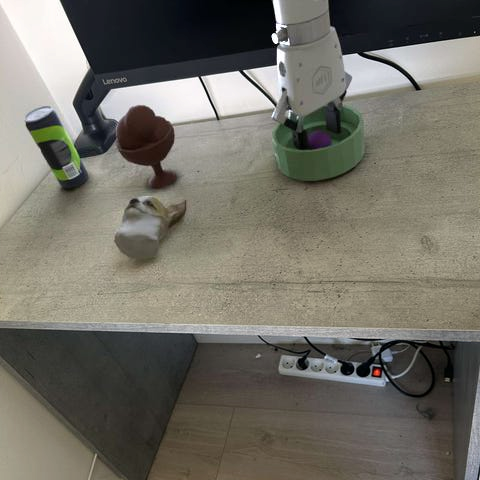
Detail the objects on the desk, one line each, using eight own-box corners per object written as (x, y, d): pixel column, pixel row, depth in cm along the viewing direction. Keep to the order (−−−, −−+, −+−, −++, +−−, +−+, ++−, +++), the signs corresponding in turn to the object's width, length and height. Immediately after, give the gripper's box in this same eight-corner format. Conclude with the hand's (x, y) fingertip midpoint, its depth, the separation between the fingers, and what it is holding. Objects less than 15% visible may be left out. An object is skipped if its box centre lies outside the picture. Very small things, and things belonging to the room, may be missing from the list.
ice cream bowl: (196, 162, 96) (170, 86, 85) (176, 197, 89) (146, 119, 79) (149, 165, 100) (119, 92, 89) (127, 198, 93) (91, 124, 82)
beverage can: (93, 170, 104) (57, 102, 93) (83, 187, 100) (45, 118, 89) (67, 175, 106) (29, 108, 95) (57, 191, 102) (16, 124, 91)
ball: (321, 145, 88) (319, 122, 85) (338, 153, 85) (335, 130, 82) (302, 157, 87) (299, 134, 84) (318, 165, 84) (315, 142, 81)
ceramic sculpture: (85, 227, 73) (122, 174, 83) (108, 271, 79) (140, 217, 89) (148, 223, 70) (180, 169, 80) (167, 270, 76) (194, 214, 86)
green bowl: (326, 127, 93) (322, 96, 89) (383, 152, 83) (383, 118, 79) (262, 164, 90) (255, 134, 86) (314, 194, 80) (309, 162, 76)
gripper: (271, 57, 67) (291, 171, 80) (366, 7, 70) (371, 124, 84) (241, 48, 72) (265, 157, 85) (332, 1, 75) (342, 112, 88)
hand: (318, 139), depth 84 cm, fingers open, 6 cm apart
